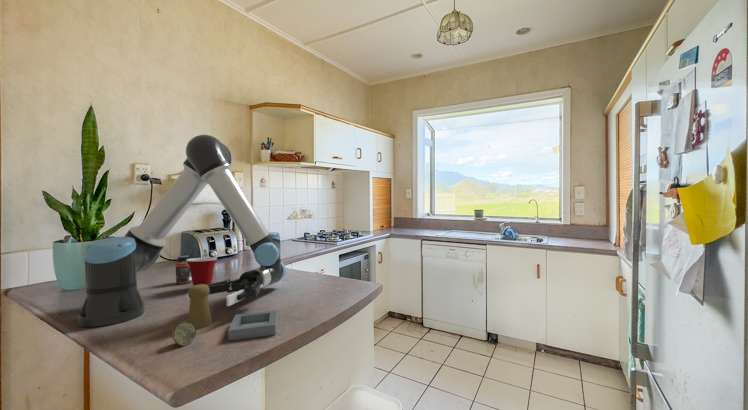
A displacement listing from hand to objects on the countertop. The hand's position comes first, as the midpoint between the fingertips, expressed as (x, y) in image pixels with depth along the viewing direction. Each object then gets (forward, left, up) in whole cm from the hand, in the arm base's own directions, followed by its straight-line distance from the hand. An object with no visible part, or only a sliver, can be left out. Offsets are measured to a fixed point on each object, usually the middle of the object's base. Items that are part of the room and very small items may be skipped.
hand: (207, 299), depth 87 cm
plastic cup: (-11, +40, -7) cm, 42 cm away
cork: (-2, -1, -7) cm, 7 cm away
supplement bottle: (-21, +52, -7) cm, 56 cm away
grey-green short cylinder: (-2, -13, -7) cm, 15 cm away
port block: (+13, -9, -6) cm, 17 cm away
